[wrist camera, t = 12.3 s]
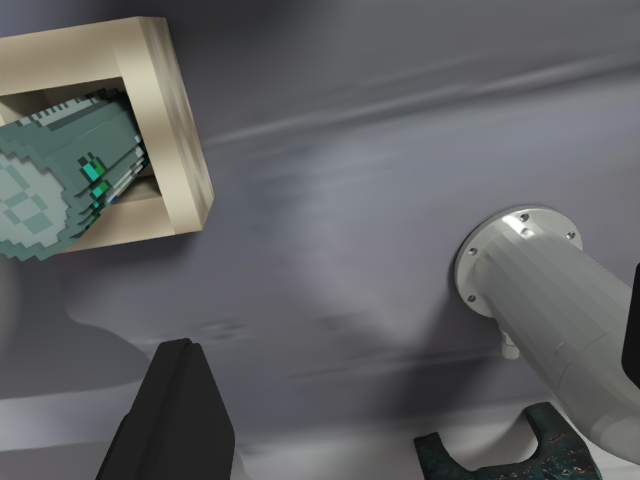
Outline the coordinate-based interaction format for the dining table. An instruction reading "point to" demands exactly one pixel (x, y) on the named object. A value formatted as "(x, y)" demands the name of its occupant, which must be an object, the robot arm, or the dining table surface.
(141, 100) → the well block
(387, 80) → the dining table surface
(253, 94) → the dining table surface
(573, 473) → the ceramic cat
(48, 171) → the can
